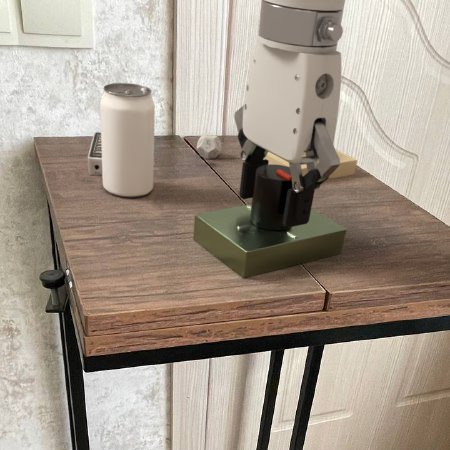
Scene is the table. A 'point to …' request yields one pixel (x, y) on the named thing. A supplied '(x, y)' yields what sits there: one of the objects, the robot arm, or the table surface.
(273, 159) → the button box
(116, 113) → the can
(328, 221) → the panel
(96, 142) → the multiport hub
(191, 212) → the table surface
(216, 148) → the game die
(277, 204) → the knob
